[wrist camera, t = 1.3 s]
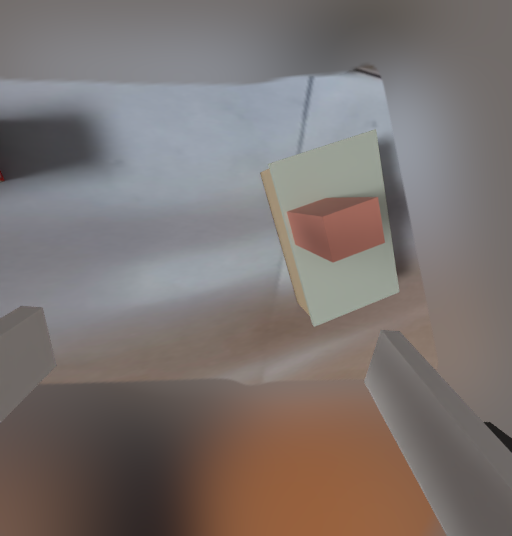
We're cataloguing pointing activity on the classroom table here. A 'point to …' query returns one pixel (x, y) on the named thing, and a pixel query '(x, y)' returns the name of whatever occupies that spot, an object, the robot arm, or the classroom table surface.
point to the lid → (338, 225)
